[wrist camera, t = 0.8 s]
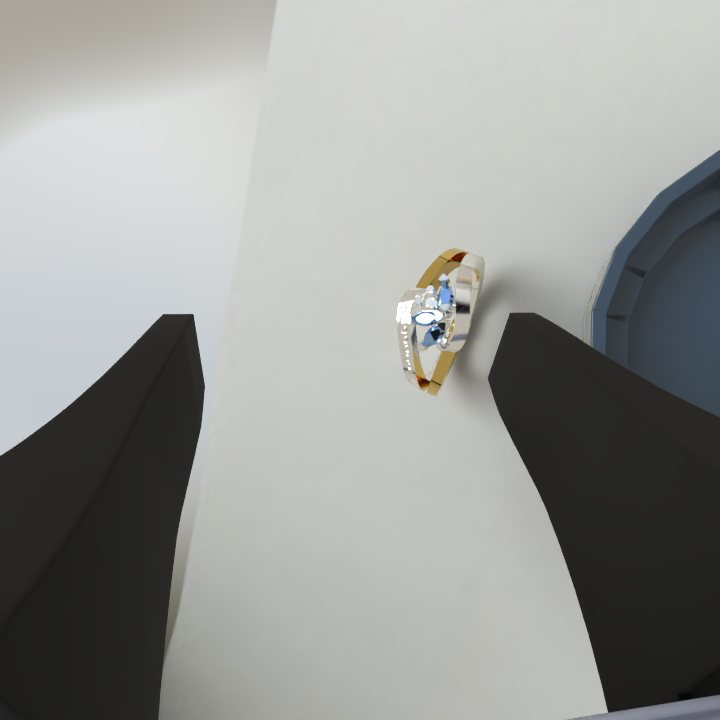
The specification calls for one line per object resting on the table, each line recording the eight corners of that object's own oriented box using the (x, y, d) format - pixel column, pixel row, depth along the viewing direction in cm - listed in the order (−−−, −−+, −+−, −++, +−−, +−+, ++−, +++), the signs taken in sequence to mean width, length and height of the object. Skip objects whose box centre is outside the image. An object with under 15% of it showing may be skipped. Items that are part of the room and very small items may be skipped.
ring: (459, 259, 26) (425, 222, 19) (515, 278, 25) (502, 246, 18) (413, 373, 27) (362, 381, 20) (464, 396, 26) (431, 413, 19)
